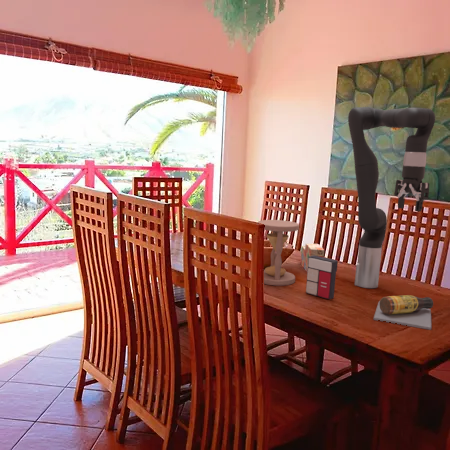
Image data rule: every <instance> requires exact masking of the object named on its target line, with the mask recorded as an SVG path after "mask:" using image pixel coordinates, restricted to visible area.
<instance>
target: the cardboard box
mask: <svg viewBox="0 0 450 450" xmlns="http://www.w3.org/2000/svg"><path fill="white" fill-rule="evenodd" d="M313 255H315V256H320V257H324V258H325V249H324V248H323V246H321V245H320V244H318V243H305V244H304V245H301V248H300V265H301V266H302V268H303V269H304V270H305V271H306V273H307V271H308V258H309V256H313Z"/></svg>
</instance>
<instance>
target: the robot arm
mask: <svg viewBox="0 0 450 450" xmlns="http://www.w3.org/2000/svg"><path fill="white" fill-rule="evenodd" d="M347 115H348V116H347V120H348V121H347V122H348V123H347V124H348V129H349V133H350V139H351V144H352V149H353V160H354V172H355V179H356V191H357V198H358V199H357V203H358V205H357V206H358V207H357V209H358V210H357V212H358V214H357V219H358V224H359V226H360V228H361V229H362V230H363V234H362V236H361V237H360V238H359V242H358V243H359V244H358V253H357V254H358V255H357V261H356V266H355V278H354V286H356V287H360V288H365V289H377V288H378V287H379V278H380V269H381V259H382V249H383V242H384V240H385V238H386V230H387V223H388V219H387V214H386V212H385V211H384V210H383V209H382V208H379V207H377V204H376V194H377V193H376V191H377V187H378V183H379V175H380V173H379V172H380V171H379V163H378V162H379V161H378V159H377V156H376V154H374V152H373V150H372V148H371V147H370V145H368V142H367V141H366V139H365V134H364V133H365V131H366V130H367V131H368V130H371V129H375V128H380V127H386V128H393V129H404V128H408V129H409V128H410V129H416V132H415V134H411V135H408V136H407V137H406V142H405V148H404V151H405V152H404V156H403V160H402V161H403V164H402V169H401V170H402V172H401V177H402V178H403V179H396V181H395V187H394V196H395V197H397V198H398V199H397V208H398V209H404V208H405V201H406V198H405V197H406V196H407V195H409V194H412V195H413V196H414V197H415V200H416V201H415V208H414V211H415V212H418V213H420V212H422V210H423V203H424V201H428V200H429V196H430V195H429V194H430V183H429V182H423V180H424V178H425V172H426V163H427V149H428V148H427V147H428V141H429V139H430V136H431V134H432V131H433V128H434V126H435V122H436V115H435V113H434V110H433V109H430V108H424V107H423V108H422V107H405V108H391V109H385V110H384V109H379V108H374V107H370V106H363V107H362V106H361V107H359V106H358V107H352V108H351V109H349V113H348V114H347Z"/></svg>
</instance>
